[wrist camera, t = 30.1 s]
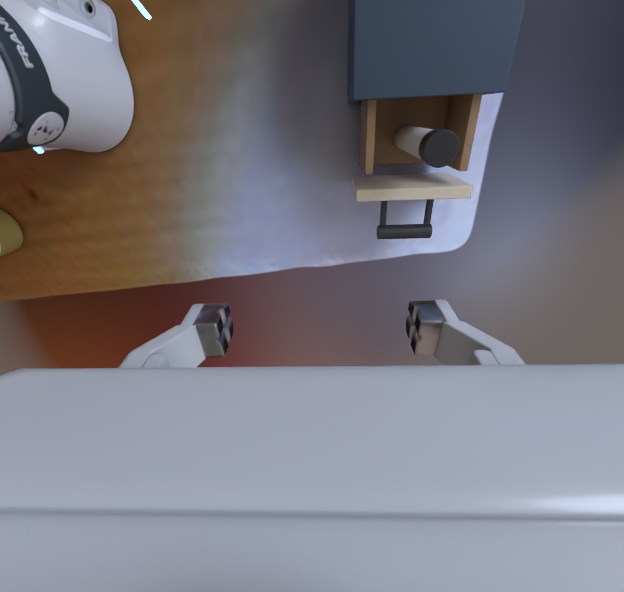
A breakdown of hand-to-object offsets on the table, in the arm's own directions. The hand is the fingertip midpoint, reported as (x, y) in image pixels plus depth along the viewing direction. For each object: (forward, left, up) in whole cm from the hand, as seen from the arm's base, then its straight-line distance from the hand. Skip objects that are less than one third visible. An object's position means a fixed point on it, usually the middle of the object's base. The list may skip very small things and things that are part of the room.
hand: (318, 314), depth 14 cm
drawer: (+3, +9, -29) cm, 31 cm away
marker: (+2, +10, -28) cm, 30 cm away
